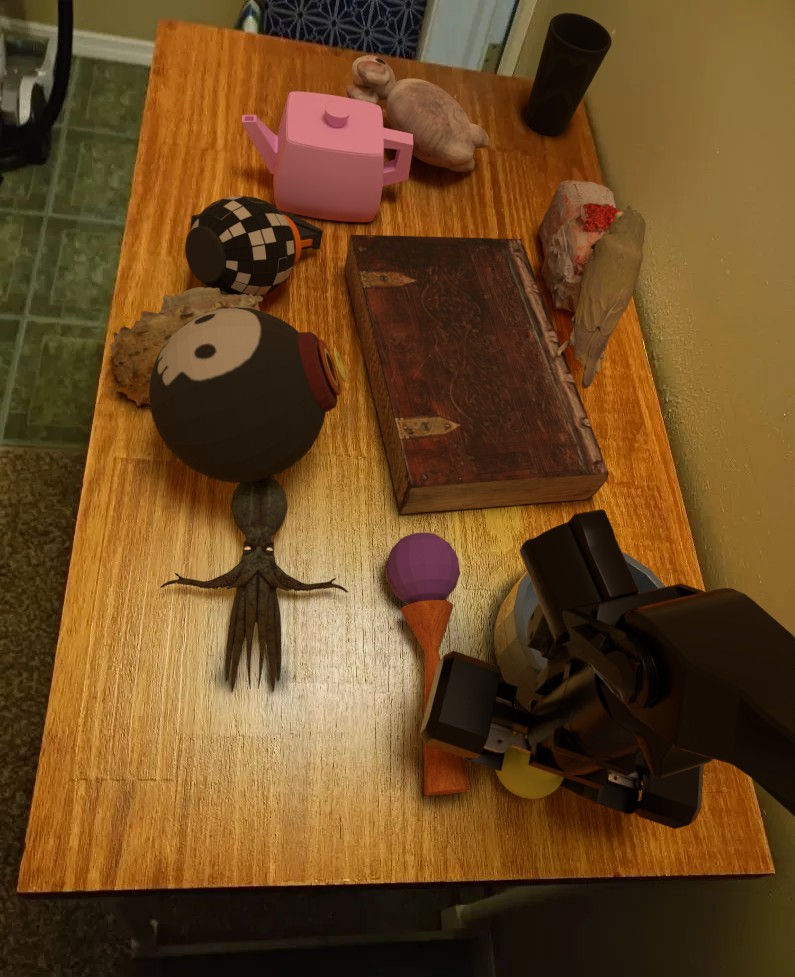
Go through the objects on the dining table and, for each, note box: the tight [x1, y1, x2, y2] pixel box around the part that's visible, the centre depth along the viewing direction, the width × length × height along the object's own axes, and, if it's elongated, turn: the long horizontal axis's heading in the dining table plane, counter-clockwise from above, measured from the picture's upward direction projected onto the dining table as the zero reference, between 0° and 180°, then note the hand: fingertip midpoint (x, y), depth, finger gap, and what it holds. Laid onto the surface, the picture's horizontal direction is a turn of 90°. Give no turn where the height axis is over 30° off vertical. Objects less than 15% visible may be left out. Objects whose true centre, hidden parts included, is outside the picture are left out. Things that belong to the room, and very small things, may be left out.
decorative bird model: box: [556, 204, 647, 390], centre depth 78 cm, size 5×20×5 cm, turn 164°
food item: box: [537, 179, 622, 314], centre depth 87 cm, size 14×8×10 cm, turn 5°
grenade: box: [184, 195, 324, 298], centre depth 79 cm, size 11×10×15 cm
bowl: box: [493, 551, 667, 712], centre depth 66 cm, size 14×14×6 cm
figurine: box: [160, 476, 349, 693], centre depth 64 cm, size 14×6×18 cm
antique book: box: [344, 234, 610, 515], centre depth 78 cm, size 29×19×5 cm, turn 12°
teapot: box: [241, 90, 413, 223], centre depth 86 cm, size 18×10×10 cm, turn 92°
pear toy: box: [494, 732, 564, 800], centre depth 59 cm, size 5×5×9 cm
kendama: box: [384, 532, 471, 796], centre depth 63 cm, size 6×6×20 cm
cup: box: [524, 12, 613, 137], centre depth 101 cm, size 8×8×12 cm
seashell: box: [108, 286, 264, 407], centre depth 72 cm, size 11×15×10 cm
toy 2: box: [345, 54, 504, 212], centre depth 91 cm, size 28×8×15 cm
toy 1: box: [149, 307, 347, 484], centre depth 63 cm, size 14×14×15 cm
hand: (522, 765), depth 62 cm, fingers closed on pear toy, 5 cm apart
